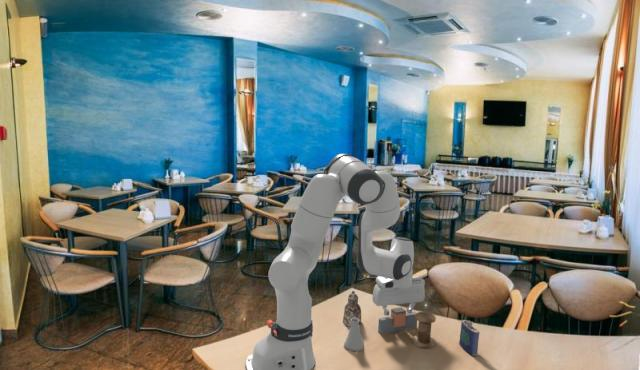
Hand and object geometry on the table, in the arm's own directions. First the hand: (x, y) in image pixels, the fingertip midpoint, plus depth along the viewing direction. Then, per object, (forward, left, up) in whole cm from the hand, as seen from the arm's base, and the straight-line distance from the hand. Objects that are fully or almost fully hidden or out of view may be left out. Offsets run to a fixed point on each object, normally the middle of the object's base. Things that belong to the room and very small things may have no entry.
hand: (397, 313), depth 157 cm
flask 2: (+16, -20, -7) cm, 27 cm away
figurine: (-14, +11, -7) cm, 19 cm away
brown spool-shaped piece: (+4, -11, -6) cm, 14 cm away
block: (0, 0, -4) cm, 4 cm away
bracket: (0, 0, -6) cm, 6 cm away
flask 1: (-21, -5, -7) cm, 22 cm away
